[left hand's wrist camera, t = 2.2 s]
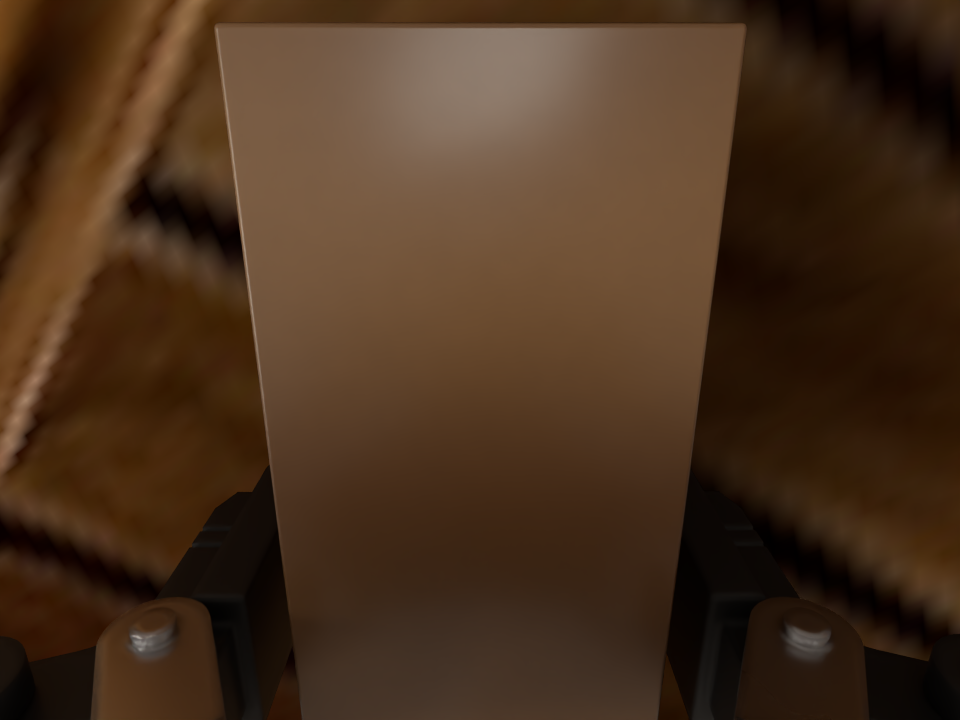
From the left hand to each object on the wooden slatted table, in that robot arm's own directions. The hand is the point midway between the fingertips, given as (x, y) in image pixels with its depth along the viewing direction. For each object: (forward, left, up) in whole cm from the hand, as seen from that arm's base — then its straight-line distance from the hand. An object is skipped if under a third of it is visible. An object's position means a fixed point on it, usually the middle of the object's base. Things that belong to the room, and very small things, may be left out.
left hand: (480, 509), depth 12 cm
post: (+16, +11, -2) cm, 20 cm away
